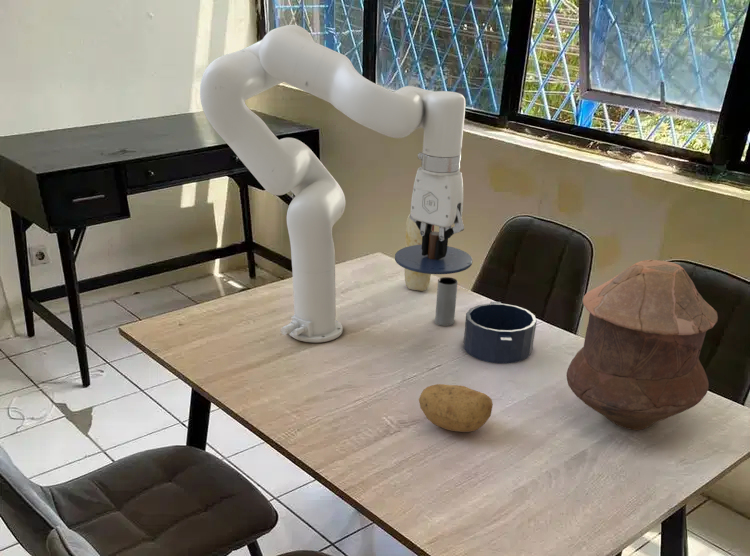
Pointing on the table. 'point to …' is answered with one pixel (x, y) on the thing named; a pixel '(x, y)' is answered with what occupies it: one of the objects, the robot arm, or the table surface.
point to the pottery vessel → (643, 346)
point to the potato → (455, 407)
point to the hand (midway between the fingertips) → (433, 255)
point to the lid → (433, 258)
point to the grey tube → (446, 301)
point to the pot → (499, 333)
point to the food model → (411, 277)
